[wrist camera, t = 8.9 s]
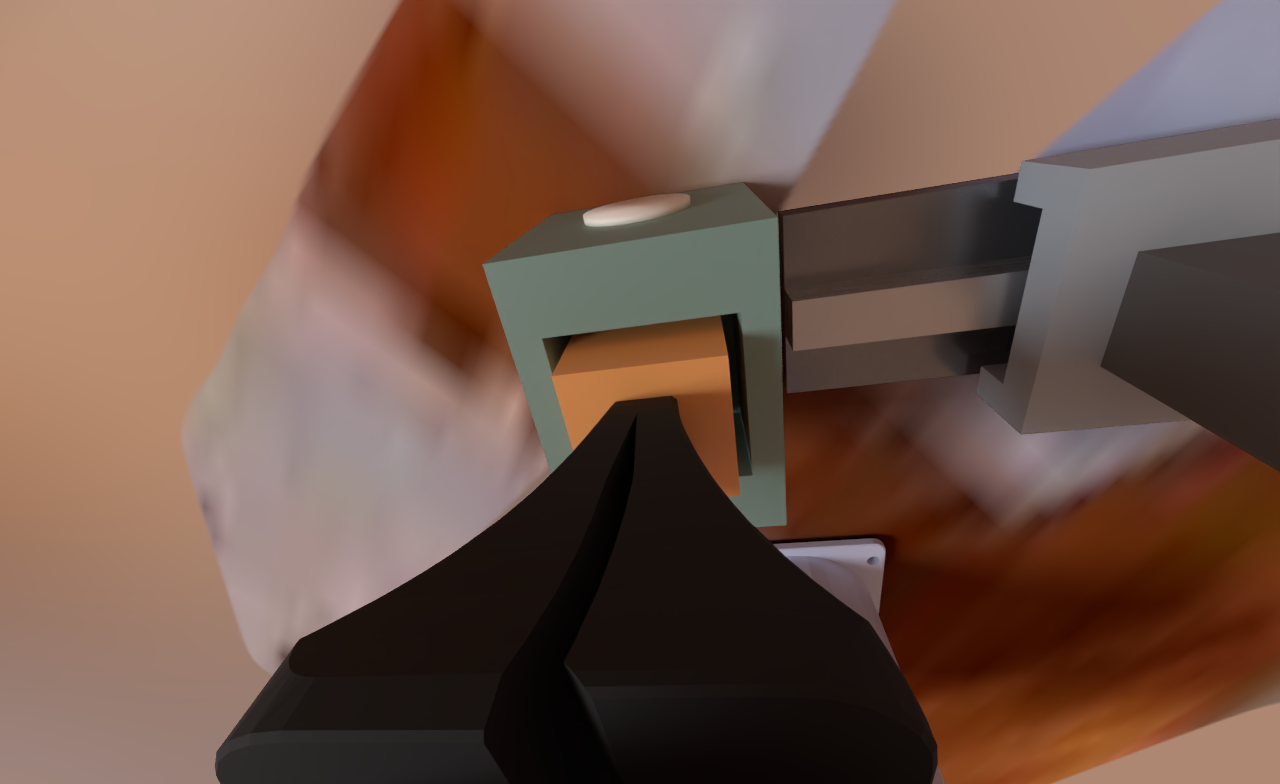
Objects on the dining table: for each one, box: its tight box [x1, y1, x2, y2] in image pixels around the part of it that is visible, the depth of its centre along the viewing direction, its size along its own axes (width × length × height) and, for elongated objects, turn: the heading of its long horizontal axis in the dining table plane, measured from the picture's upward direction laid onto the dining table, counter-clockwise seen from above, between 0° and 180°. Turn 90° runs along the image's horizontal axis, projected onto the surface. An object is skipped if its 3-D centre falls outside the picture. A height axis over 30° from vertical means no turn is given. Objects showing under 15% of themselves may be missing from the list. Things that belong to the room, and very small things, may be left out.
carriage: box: [976, 119, 1280, 472], centre depth 10 cm, size 7×6×7 cm
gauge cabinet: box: [483, 182, 786, 527], centre depth 14 cm, size 8×6×6 cm
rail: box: [778, 173, 1043, 393], centre depth 13 cm, size 6×23×2 cm, turn 100°
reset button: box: [551, 315, 740, 497], centre depth 12 cm, size 4×4×4 cm
